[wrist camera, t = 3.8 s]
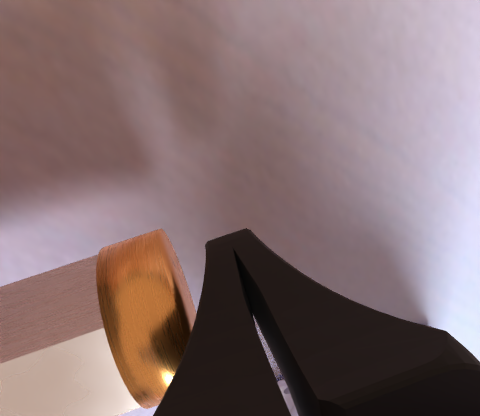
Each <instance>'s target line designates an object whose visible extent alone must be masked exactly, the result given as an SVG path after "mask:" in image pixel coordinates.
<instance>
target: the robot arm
mask: <svg viewBox="0 0 480 416" xmlns="http://www.w3.org/2000/svg"><path fill="white" fill-rule="evenodd" d="M205 248H206V264H205V274H204V281H203V288H202V293H201V297H200V302H199V306H198V310H197V314H196V318H195V322H194V325H193V328H192V331H191V334H190V337H189V340H188V343H187V346H186V348H185V351H184V353H183V356H182V358H181V361H180V363H179V365H178V368H177V370H176V372H175V374H174V376H173V378H172V380H171V382H170V384H169V386H168V388H167V390H166V392H165V394H164V396H163V398H162V400H161V402H160V404H159V406H158V408H157V409H156V411H155V413H154V415H153V416H480V362H479V361H478V360H477V359H476V357H475V356H474V355H473V354H472V353H470V352H469V351H468V350H467V349H466V348H465V347H464V346H463V345H462V344H461V343H459V342H458V341H457V340H456V339H455V338H454V337H452V336H451V335H450V334H449V333H448V332H447V331H444V330H440V329H436V328H432V327H431V326H425V325H421V324H417V323H413V322H410V321H406V320H403V319H399V318H396V317H394V316H391V315H388V314H385V313H382V312H379V311H376V310H374V309H371V308H369V307H367V306H364V305H362V304H359V303H357V302H354V301H352V300H350V299H348V298H346V297H344V296H342V295H340V294H337V293H335V292H333V291H332V290H330V289H328V288H326V287H324V286H322V285H321V284H319V283H317V282H316V281H314V280H312V279H311V278H309V277H307V276H306V275H304V274H303V273H301V272H300V271H298V270H297V269H295V268H294V267H293V266H291V265H290V264H288V263H287V262H286V261H284V260H283V259H282V258H281V257H279V256H278V255H277V254H275V253H274V252H273V251H272V250H271V249H269V248H268V247H267V246H266V245H265V244H264V243H263V242H262V241H260V240H259V239H258V238H257V237H256V236H255V235H254V234H253V232H252V231H251V230H249V229H247V228H246V229H243V230H240V231H237V232H234V233H231V234H228V235H225V236H222V237H219V238H216V239H213V240H210V241H208V242H207V243H206V245H205ZM252 313H253V314H252ZM253 315H254V317H255V320H256V322H257V324H258V326H259V328H260V330H261V332H262V334H263V336H264V338H265V340H266V342H267V344H268V346H269V348H270V350H271V352H272V354H273V356H274V358H275V361H276V363H277V365H278V367H279V369H280V371H281V373H282V375H283V377H284V379H283V380H280V381H278V382H277V380H276V378H275V376H274V373H273V371H272V368H271V366H270V363H269V361H268V358H267V356H266V353H265V351H264V348H263V346H262V343H261V341H260V338H259V336H258V333H257V330H256V326H255V322H254V318H253Z"/></svg>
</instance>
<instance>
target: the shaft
mask: <svg viewBox="0 0 480 416" xmlns="http://www.w3.org/2000/svg"><path fill="white" fill-rule="evenodd" d="M195 318H196V310H195V307H194V304H193V300H192V297H191V294H190V291H189V288H188V285H187V282H186V279H185V277H184V274H183V271H182V268H181V266H180V263H179V261H178V258H177V256H176V253H175V251H174V249H173V246H172V244H171V242H170V240H169V238H168V236H167V235H166V233H165V232H164V230H163V229H158V230H155V231H152V232H149V233H146V234H143V235H140V236H137V237H134V238H131V239H128V240H125V241H122V242H119V243H116V244H112V245H109V246H106V247H104V248H102V249H101V250H100V252H99V254H98V255H95V256H92V257H89V258H86V259H83V260H80V261H77V262H74V263H71V264H68V265H65V266H62V267H59V268H56V269H53V270H50V271H47V272H44V273H41V274H38V275H35V276H31V277H28V278H25V279H22V280H19V281H16V282H13V283H10V284H7V285H4V286H1V287H0V416H118V415H121V414H123V413H126V412H129V411H131V410H134V409H137V408H140V407H143V408H146V409H148V408H152V407H154V406H157V405H159V404H160V402H161V400H162V398H163V396H164V394H165V392H166V390H167V388H168V386H169V384H170V382H171V380H172V378H173V376H174V374H175V372H176V370H177V368H178V365H179V363H180V361H181V358H182V356H183V353H184V351H185V348H186V346H187V343H188V340H189V337H190V334H191V331H192V328H193V325H194V322H195Z"/></svg>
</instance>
